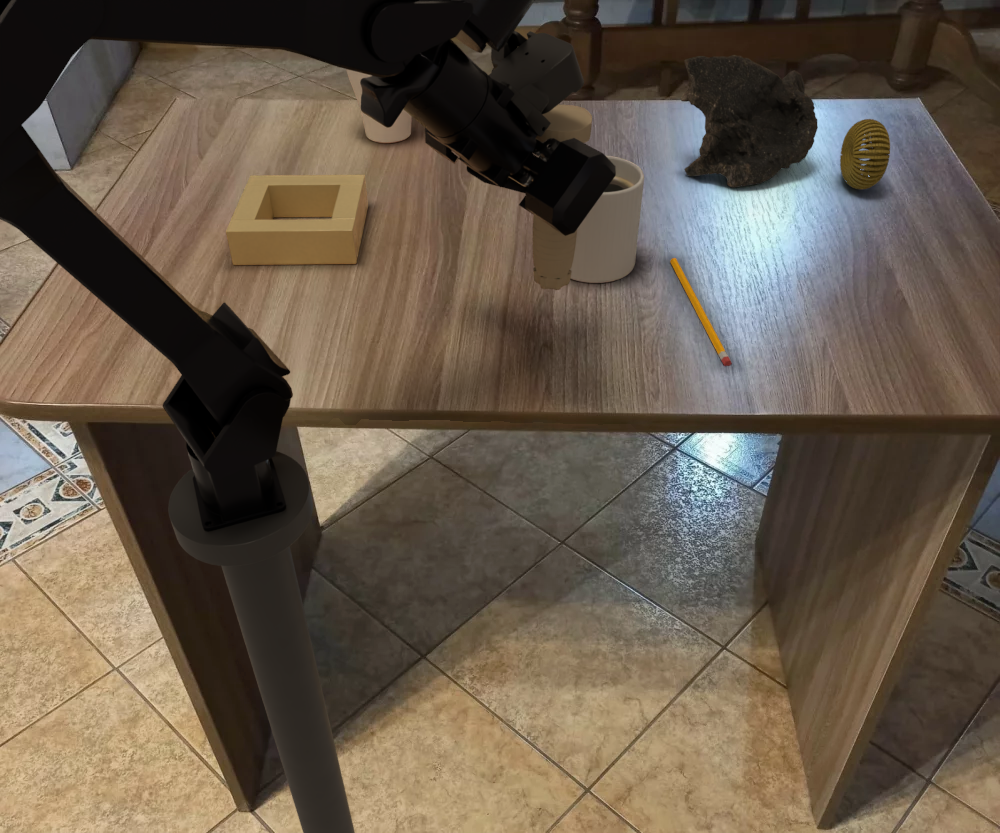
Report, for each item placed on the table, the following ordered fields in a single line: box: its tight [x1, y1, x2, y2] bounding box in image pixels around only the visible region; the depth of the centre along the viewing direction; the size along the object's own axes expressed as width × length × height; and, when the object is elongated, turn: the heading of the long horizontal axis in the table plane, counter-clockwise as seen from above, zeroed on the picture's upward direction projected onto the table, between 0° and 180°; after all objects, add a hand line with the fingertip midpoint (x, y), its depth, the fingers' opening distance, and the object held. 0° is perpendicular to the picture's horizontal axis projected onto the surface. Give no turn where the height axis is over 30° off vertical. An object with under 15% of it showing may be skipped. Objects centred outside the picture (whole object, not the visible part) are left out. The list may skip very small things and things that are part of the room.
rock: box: [680, 54, 819, 188], centre depth 111 cm, size 17×12×15 cm
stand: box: [225, 174, 369, 266], centre depth 99 cm, size 13×13×4 cm
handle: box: [532, 104, 593, 291], centre depth 77 cm, size 5×6×15 cm
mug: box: [570, 154, 645, 284], centre depth 93 cm, size 11×10×10 cm
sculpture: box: [839, 118, 891, 190], centre depth 106 cm, size 8×4×8 cm, turn 179°
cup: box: [345, 69, 413, 144], centre depth 116 cm, size 10×10×14 cm
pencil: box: [669, 257, 733, 367], centre depth 88 cm, size 1×18×1 cm, turn 7°
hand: (567, 202), depth 77 cm, fingers closed on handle, 3 cm apart
